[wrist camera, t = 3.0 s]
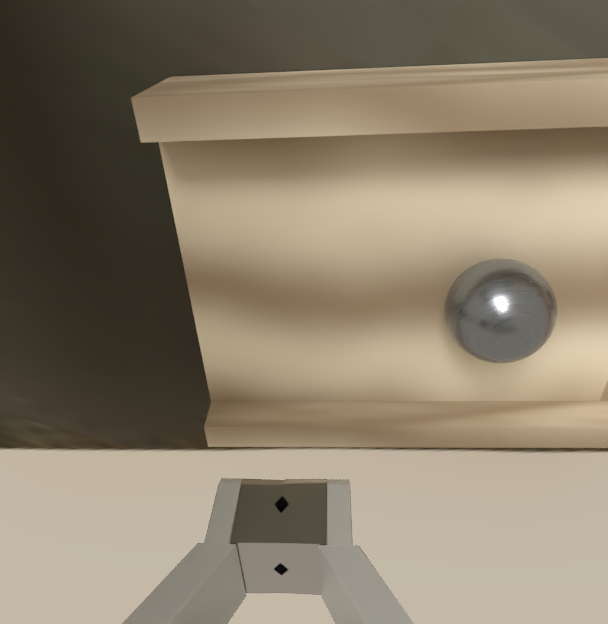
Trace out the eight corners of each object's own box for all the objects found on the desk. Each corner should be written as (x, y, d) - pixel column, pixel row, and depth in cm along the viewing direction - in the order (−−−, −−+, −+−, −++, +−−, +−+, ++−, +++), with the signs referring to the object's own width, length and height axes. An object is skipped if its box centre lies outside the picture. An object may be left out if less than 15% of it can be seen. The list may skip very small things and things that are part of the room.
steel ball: (441, 241, 17) (464, 294, 14) (544, 239, 17) (590, 292, 14) (431, 324, 19) (450, 385, 16) (523, 323, 19) (560, 385, 16)
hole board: (170, 76, 17) (110, 108, 12) (955, 43, 15) (1228, 65, 11) (224, 384, 24) (200, 475, 20) (749, 381, 23) (855, 479, 18)
